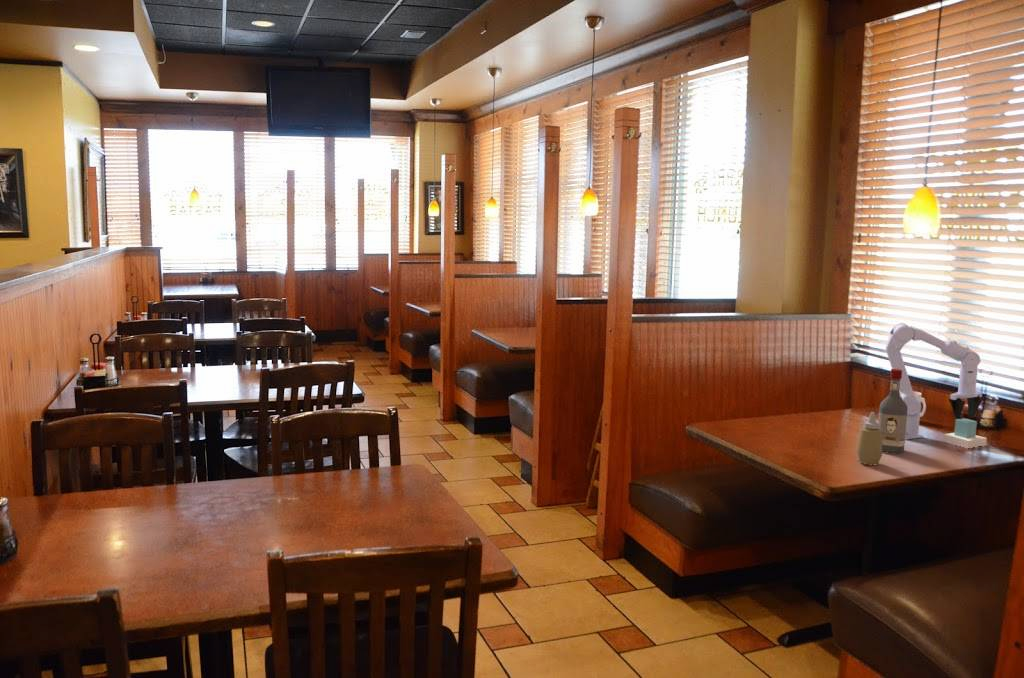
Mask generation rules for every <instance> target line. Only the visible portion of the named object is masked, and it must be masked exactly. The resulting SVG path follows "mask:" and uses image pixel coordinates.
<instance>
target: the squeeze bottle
mask: <svg viewBox="0 0 1024 678" xmlns="http://www.w3.org/2000/svg"><path fill="white" fill-rule="evenodd" d="M860 429H861V430H860V434H859V438H858V445H857V450H856V453H857V457H858V461H859V463H860V462H862V463H866V464H872V465H871V466H875V465H874V464H878V465H879V463H880V461H881V458H882V457H883V452H882V431H881V430H880V429H879V423H878V421H877V419H876V413H875V412H874V411H873V412H870V414H869V416H868V421H864V425H863V427H862V428H860ZM862 463H861V464H862ZM866 464H865V465H866Z"/></svg>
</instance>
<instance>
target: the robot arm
mask: <svg viewBox="0 0 1024 678" xmlns="http://www.w3.org/2000/svg"><path fill="white" fill-rule="evenodd" d="M910 341H914V342H915V341H921V342H922V341H923V342H925V343H927V344H929V345H931V346H933V347H935V348H938V349H940V352H941V354H942V355H944V356H946V357H948V358H951V359H953V360H955V361H957V362H960V369H959V377H958V388H957V389H958V390H957V391H956V392H954V393H950V397H949V398H948V401H949V403H950V406H951V408H952V411H953V417H954V418H956V419H961V416H962V410H963V407H964V405H965V403H966V401H967V415H968V416H970V417H975V415H976V414H977V413H976V412H977V411H978V409H979V406H980V405H981V403H982V402H983V401H984V399H983V398H982V397H983V391H979V390H978V391H977V390H976V387H977V381H978V380H977V378H978V365H979V364H981V359H980V358H981V357H980V355H979V354H978V353H977V352H976V351H974V350H972V349H970V347H968V346H963V345H961V344H959V343H958V341H956V340H950V339H949V340H945V341H944V340H943V339H940V338H938V337H936V336H934V335H932V334H930V333H928V332H927V331H926V330H925V331H924V330H922V329H921V328H917V327H916V326H915V327H914V326H911V325H908V324H906V323H905V322H904V323H903V322H900V323H897V324H895V325H894V326H893V328H892V329H890V331H889V336H888V340H887V342H886V345H885V351H886V354H887V357H888V361H889V363H890V367H891V369H900V370H902V379H900V390H899V393H900V397H901V398H902V399H903V401H904V402H905V403H906V405H907V408H908V409H907V420H906V432H905V440H911V439H920V438H924V435H921V434H919V430H920V418H921V417H920V413H921V412H922V404H920V402H919V401H918V400H917V399H916V397H915V394H914V392H915V391H914V390H913V387H912V384H911V380H910V378H909V375H908V372H907V369H906V366H905V362H904V359H903V356H902V353H901V351H902V349H903V347H904V346H906V344H908V343H909V342H910ZM913 391H914V392H913ZM962 399H963V400H962ZM964 399H966V401H964ZM919 412H920V413H919Z"/></svg>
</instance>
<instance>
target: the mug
mask: <svg viewBox="0 0 1024 678" xmlns="http://www.w3.org/2000/svg"><path fill="white" fill-rule="evenodd" d="M913 392H914V394H915V397H916V399H917V400H918V401H919V402H920V404H921V403H922V404H921V405H922V406H923V407H922V409H921V411H920V412H919V413H920V418H921V417H924V415H925V413H926V410H927V404H926V399H925V397H922V392H919V391H915V390H913Z"/></svg>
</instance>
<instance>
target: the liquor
mask: <svg viewBox="0 0 1024 678" xmlns="http://www.w3.org/2000/svg"><path fill="white" fill-rule="evenodd" d="M889 377H890V387H889V392H888V393H889V394H888V395H887V396H886V397H885V398H884V399H883V400H882V401H881V402H880V405H879V408H878V419H877V423H879V429H880V430H881V431H882V453H883V452H888V453H887V454H891V453H895V454H894V455H902V454H903V453H904V451H905V442H906V439H905V432H906V420H907V409H908V408H907V405H906V403H905V402H904V401H903V399H902V398H901V397H900V393H899V390H900V379H902V370H900V369H892V368H891V369H890V376H889ZM901 453H902V454H901Z"/></svg>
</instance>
